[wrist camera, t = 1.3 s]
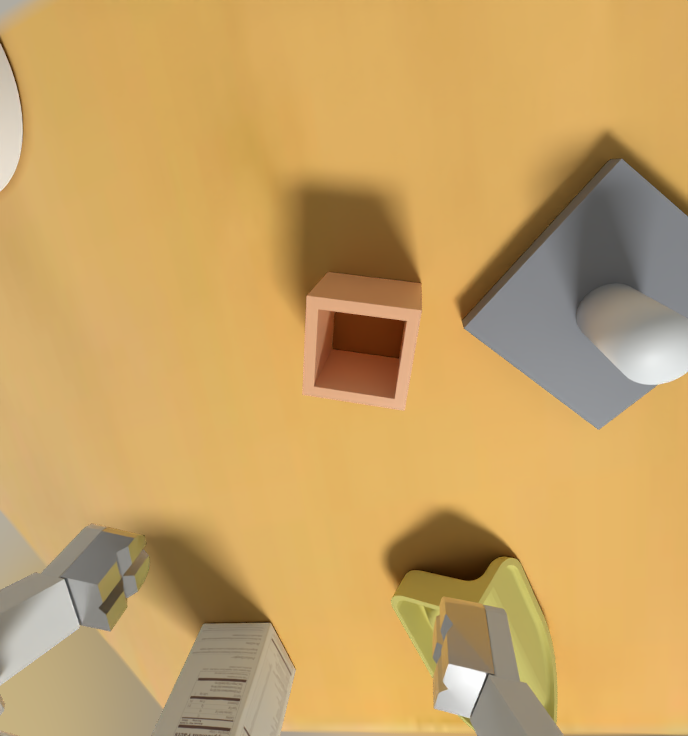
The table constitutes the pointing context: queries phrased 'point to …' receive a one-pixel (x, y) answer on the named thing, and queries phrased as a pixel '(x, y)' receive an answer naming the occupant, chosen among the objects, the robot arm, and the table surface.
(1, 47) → the robot arm
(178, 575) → the table surface
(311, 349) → the sleeve
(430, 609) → the plastic component
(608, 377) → the base
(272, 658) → the supplement box
